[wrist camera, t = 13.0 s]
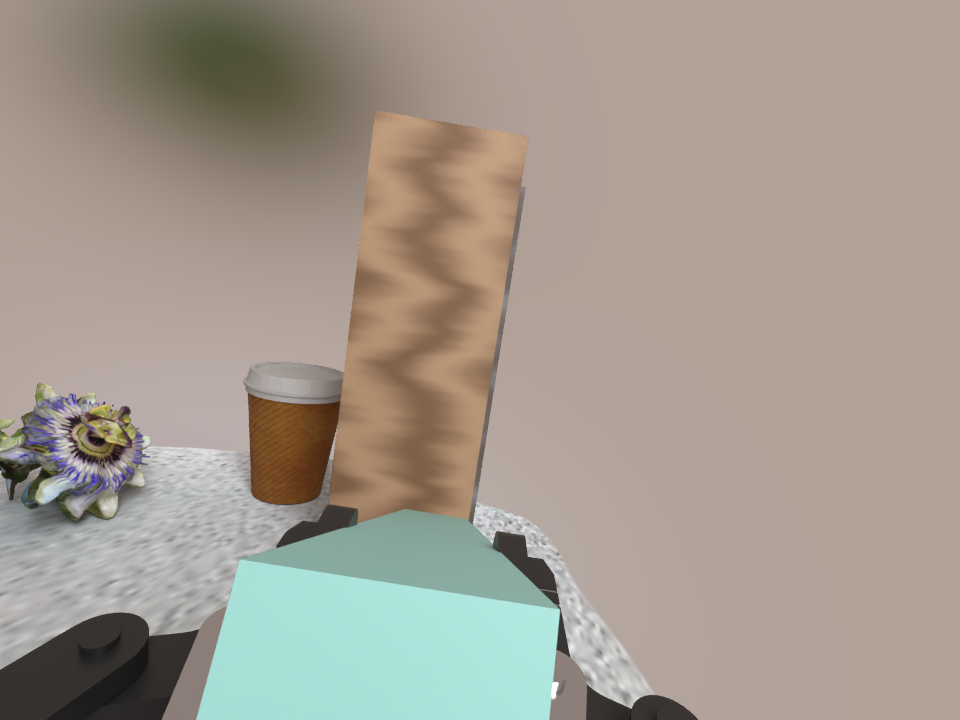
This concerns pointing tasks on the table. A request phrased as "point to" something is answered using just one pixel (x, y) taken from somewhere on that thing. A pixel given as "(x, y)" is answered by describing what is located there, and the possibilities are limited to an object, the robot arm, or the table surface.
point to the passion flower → (73, 454)
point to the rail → (384, 629)
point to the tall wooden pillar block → (427, 316)
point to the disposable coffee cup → (291, 428)
